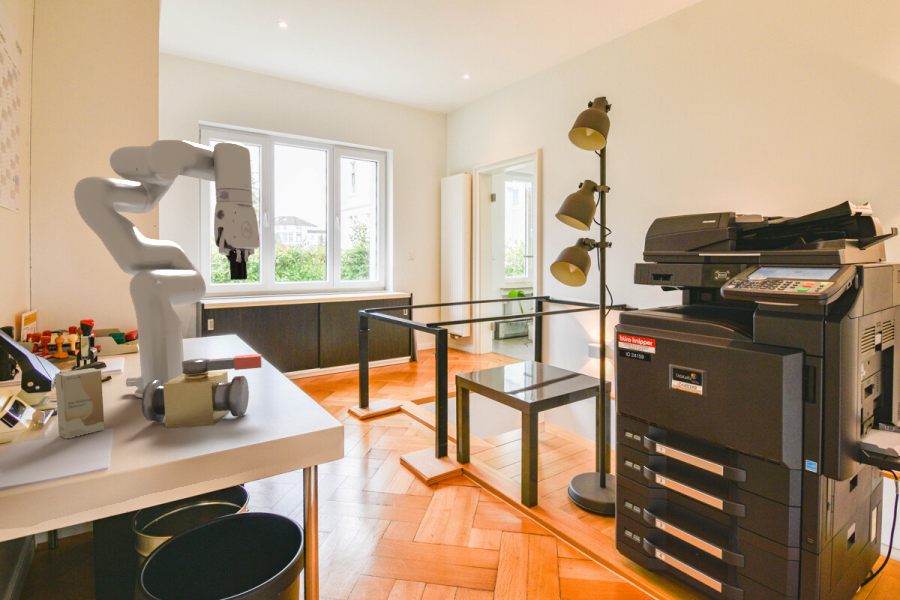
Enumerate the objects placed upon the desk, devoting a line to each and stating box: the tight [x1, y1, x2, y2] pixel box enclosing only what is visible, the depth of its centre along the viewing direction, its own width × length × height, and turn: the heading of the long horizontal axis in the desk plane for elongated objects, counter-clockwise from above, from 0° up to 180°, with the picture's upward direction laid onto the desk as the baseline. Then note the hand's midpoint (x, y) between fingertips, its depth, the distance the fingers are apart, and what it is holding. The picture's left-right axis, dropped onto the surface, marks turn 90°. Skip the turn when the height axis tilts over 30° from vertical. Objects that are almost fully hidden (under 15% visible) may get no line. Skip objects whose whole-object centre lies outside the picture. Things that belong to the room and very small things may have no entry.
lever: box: [182, 353, 263, 374], centre depth 95 cm, size 15×5×2 cm, turn 110°
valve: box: [141, 370, 250, 429], centre depth 94 cm, size 18×9×10 cm, turn 98°
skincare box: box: [54, 367, 105, 439], centre depth 87 cm, size 6×4×12 cm
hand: (238, 279), depth 104 cm, fingers closed
